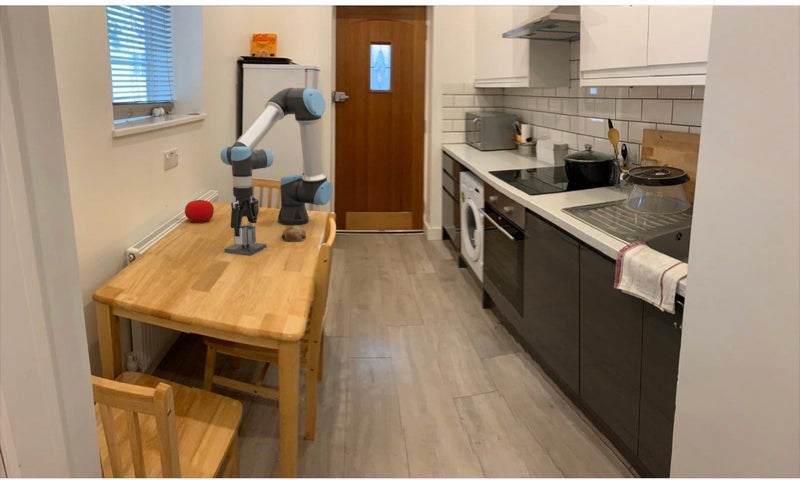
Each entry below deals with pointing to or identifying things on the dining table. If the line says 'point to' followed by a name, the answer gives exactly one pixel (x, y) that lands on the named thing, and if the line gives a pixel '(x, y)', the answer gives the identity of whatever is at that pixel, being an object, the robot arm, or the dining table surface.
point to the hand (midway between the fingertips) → (245, 241)
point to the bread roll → (293, 234)
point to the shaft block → (245, 248)
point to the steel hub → (247, 234)
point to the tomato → (199, 210)
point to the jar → (255, 206)
